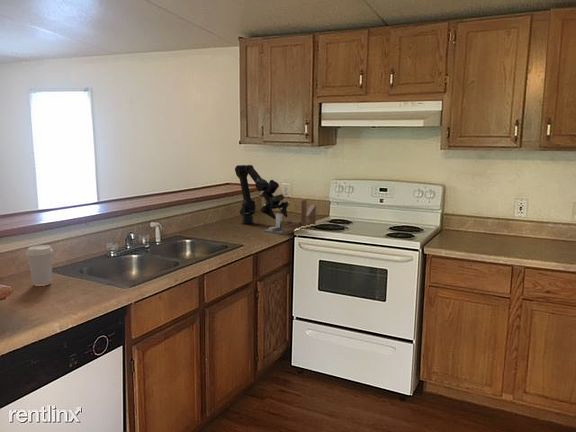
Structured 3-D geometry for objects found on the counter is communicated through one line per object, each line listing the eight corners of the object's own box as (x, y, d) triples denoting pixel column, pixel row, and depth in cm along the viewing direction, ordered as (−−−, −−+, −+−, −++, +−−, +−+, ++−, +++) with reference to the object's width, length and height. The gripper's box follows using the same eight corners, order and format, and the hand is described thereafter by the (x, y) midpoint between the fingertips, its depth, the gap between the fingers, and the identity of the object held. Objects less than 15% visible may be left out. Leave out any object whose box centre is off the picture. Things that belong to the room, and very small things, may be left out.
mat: (263, 231, 295) (263, 230, 295) (280, 226, 310) (280, 225, 310) (284, 234, 286) (284, 233, 286) (301, 229, 301) (301, 228, 301)
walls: (263, 230, 295) (263, 223, 295) (280, 225, 310) (280, 219, 309) (284, 233, 286) (284, 226, 286) (301, 228, 301) (301, 222, 300)
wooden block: (315, 226, 311) (315, 199, 308) (303, 228, 304) (303, 200, 301) (311, 225, 314) (311, 198, 311) (299, 227, 307) (299, 199, 304)
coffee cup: (23, 286, 188) (19, 249, 186) (43, 279, 197) (40, 244, 194) (41, 289, 185) (38, 251, 182) (61, 282, 193) (58, 245, 191)
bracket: (268, 230, 294) (268, 214, 292) (278, 228, 299) (277, 213, 297) (272, 231, 291) (272, 215, 289) (282, 229, 296) (282, 213, 294)
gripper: (263, 191, 289) (275, 211, 282) (287, 188, 301) (298, 208, 295) (255, 202, 296) (267, 222, 290) (278, 200, 308) (290, 219, 302)
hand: (281, 218), depth 294 cm, fingers open, 9 cm apart
